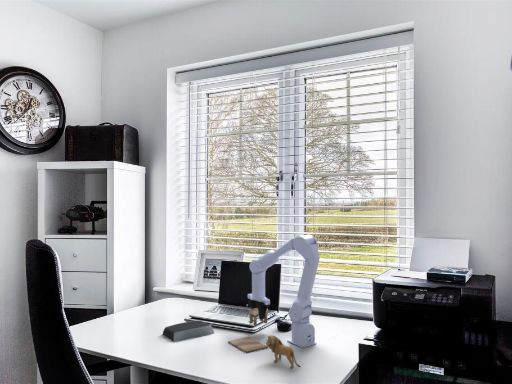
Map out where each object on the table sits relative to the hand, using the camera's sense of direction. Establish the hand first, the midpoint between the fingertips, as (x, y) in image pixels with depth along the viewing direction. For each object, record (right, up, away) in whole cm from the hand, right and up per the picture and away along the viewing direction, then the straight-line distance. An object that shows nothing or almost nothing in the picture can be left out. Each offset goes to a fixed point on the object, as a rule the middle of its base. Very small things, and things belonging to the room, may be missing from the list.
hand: (258, 318), depth 189 cm
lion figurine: (+8, -7, -33) cm, 35 cm away
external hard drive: (-31, -7, -1) cm, 32 cm away
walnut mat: (-5, -7, -15) cm, 17 cm away
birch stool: (0, -2, 0) cm, 2 cm away
